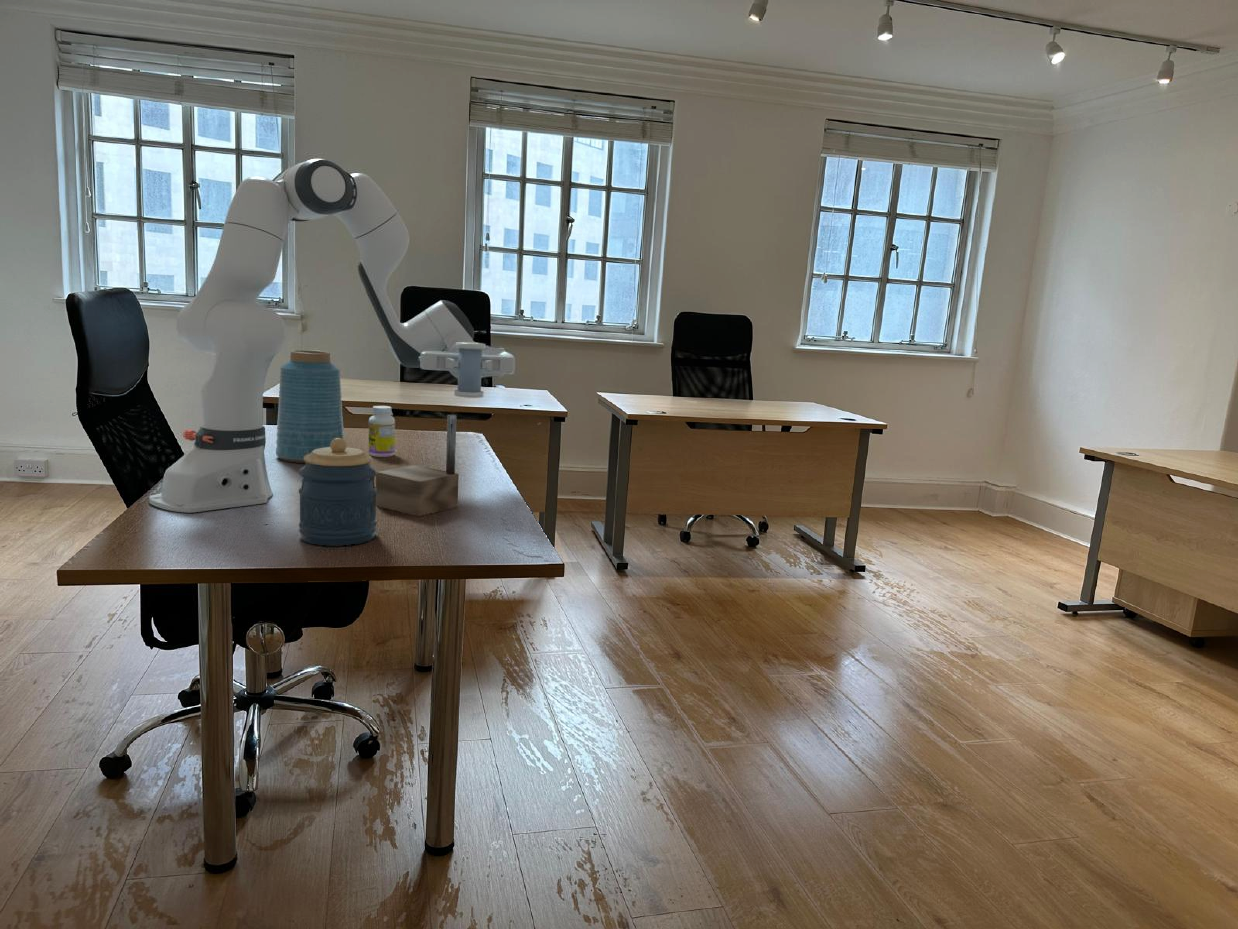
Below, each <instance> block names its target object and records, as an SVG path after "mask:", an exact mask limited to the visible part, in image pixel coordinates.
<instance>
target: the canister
mask: <svg viewBox="0 0 1238 929" xmlns="http://www.w3.org/2000/svg"><path fill="white" fill-rule="evenodd" d="M304 461H305V462H306V463H305V465H304V466H302V467H300V469H299V470H298V472H297V473H298V475H299V476H300V477H301V487H300V488H298V493H299V523H298V527H299V528H298V532H299V534H300V539H301V540H302V541H303V542H305V543H307V544H310V545H315V544H318V545H317V546H322V545H326V546H325V547H344V546H343V545H347V546H352V545H351V544H355V545H360V544H364V543H367V542H369V541H371V540H372V539H374V538H375V536H376V532H377V529H378V528H377V525H378V524H377V506H376V492H377V489H376V485H375V478H376V474H377V472H378V470H377V469H376V468H375V467H374V466H372V465H371V462H372V461H373V456H371V455H369V453H366V452H365V451H364V450H363V449H360V448H358V447H357V448H356V447H349V446H347V443H346V441H345V439H344V438H343V439H342V438H335V439H333V440H332V441H331V444H330V447H326V448H319V449H315V450H313V451H312V452H311V453H310V454H308V455H306V456H305V457H304ZM366 541H367V542H366ZM363 542H364V543H363Z"/></svg>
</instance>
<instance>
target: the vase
mask: <svg viewBox="0 0 1238 929" xmlns="http://www.w3.org/2000/svg"><path fill="white" fill-rule="evenodd" d="M289 357H290V358H289V361H288V362H286V363H284V364H283V365H281V366H280V370H279V371H280V374H279V391H278V392H279V393H278V406H277V407H278V410H277V412H278V413H277V421H276V423H277V426H276V430H277V431H276V442H275V443H276V447H275V455H276V456H277V457H278V458H279V459H281V460H283V461H285V462H290V463H296V464H306V462H305V461H304V457H305V456H306V455H308V454H310V453H311V452H312V451H313V450H315V449H319V448H326V447H330V444H331V441H332V440H333V439H335V438H342V439H344V437H345V432H344V421H343V420H344V418H343V406H342V405H343V403H342V386H341V369H340V368H339V367H338V366H337V365H335V364H334V363H332V362H331V354H330V352H329V351H323V350H313V349H312V350H310V349H308V350H307V349H300V350H299V349H296V350H291V351H290V356H289Z"/></svg>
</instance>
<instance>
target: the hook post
mask: <svg viewBox="0 0 1238 929" xmlns="http://www.w3.org/2000/svg"><path fill="white" fill-rule="evenodd" d="M446 419H447V420H446V421H447V422H446V423H447V424H446V454H445V456H446V458H445V460H446V461H445V471H446V474H450V475H452V474H455V473H456V448H457V447H456V446H457V414H447V418H446Z"/></svg>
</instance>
